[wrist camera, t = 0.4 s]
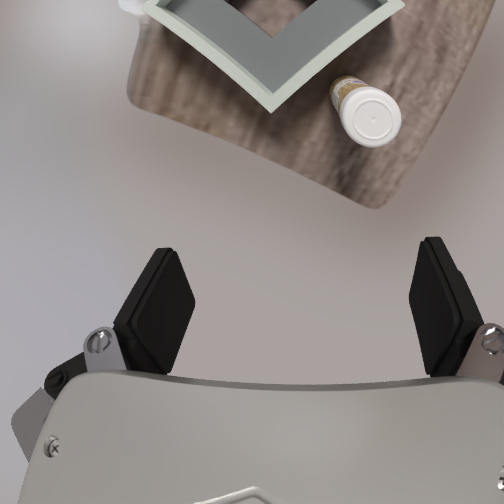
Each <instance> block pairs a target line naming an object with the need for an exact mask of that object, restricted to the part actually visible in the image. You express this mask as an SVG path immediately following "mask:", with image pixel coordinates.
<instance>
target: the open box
mask: <svg viewBox="0 0 504 504" xmlns="http://www.w3.org/2000/svg"><path fill="white" fill-rule="evenodd" d="M229 1H230V0H147V1H146V3H145V4H144V5H143V6H142V8H141V10H142V11H144V12H145V13H147V14H148V15H150V16H151V17H153V18H154V19H156V20H157V21H159V22H160V23H161V24H163V25H164V26H166V27H167V28H169V29H170V30H171V31H173V32H174V33H175V34H177V35H178V36H179V37H181V38H182V39H184V40H185V41H186V42H187V43H189V44H190V45H191V46H193V47H194V48H195V49H197V50H198V51H199V52H200V53H202V54H203V55H204V56H205V57H207V58H208V59H209V60H210V61H212V62H213V63H214V64H215V65H217V66H218V67H219V68H220V69H221V70H223V71H224V72H225V73H226V74H227V75H229V76H230V77H231V78H232V79H233V80H234V81H236V82H237V83H238V84H239V85H240V86H241V87H242V88H244V89H245V90H246V91H247V92H248V93H249V94H250V95H251V96H253V97H254V98H255V99H256V100H257V101H258V102H259V103H260V104H261V105H262V106H264V107H265V108H266V109H267V110H268V111H269V112H270V113H272V112H273V111H274V110H275V109H276V108H278V107H279V106H280V105H281V104H282V103H283V102H284V101H285V100H286V99H288V98H289V97H290V96H291V95H292V94H293V93H294V92H295V91H297V90H298V89H299V88H300V87H301V86H302V85H303V84H305V83H306V82H307V81H308V80H309V79H310V78H311V77H313V76H314V75H315V74H316V73H317V72H319V71H320V70H321V69H322V68H323V67H325V66H326V65H327V64H328V63H329V62H331V61H332V60H333V59H334V58H336V57H337V56H338V55H339V54H340V53H342V52H343V51H344V50H345V49H347V48H348V47H349V46H351V45H352V44H353V43H354V42H356V41H357V40H358V39H360V38H361V37H362V36H364V35H365V34H366V33H367V32H369V31H370V30H372V29H373V28H374V27H376V26H377V25H378V24H380V23H381V22H382V21H384V20H385V19H387V18H388V17H389V16H391V15H392V14H394V13H395V12H396V11H398V10H399V9H401V8H402V7H404V6H405V4H404V3H403V2H402V1H401V0H317V1H316V2H314V3H313V4H312V5H311V6H309V7H308V8H307V9H306V10H304V11H303V12H302V13H301V14H300V15H298V16H297V17H296V18H295V19H294V20H292V21H291V22H290V23H289V24H288V25H287V26H285V27H284V28H283V29H282V30H281V31H280V32H279V33H278V34H276V35H275V36H274V37H273V38H272V37H271V36H270V35H269V34H267V33H266V32H265V31H264V30H263V29H261V28H260V27H259V26H258V25H256V24H255V23H254V22H253V21H251V20H250V19H249V18H248V17H246V16H245V15H244V14H242V13H241V12H240V11H239V10H237V9H236V8H235V7H233V6H232V5H230V4H229V3H228V2H229Z"/></svg>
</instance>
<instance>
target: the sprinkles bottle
mask: <svg viewBox="0 0 504 504" xmlns="http://www.w3.org/2000/svg"><path fill="white" fill-rule="evenodd" d="M329 96H330V100H331V102H332V104H333V105H334V107H335V109H336V110H337V112H338V114H339V116H340V120H341V123H342V125H343V127H344V129H345V131H346V132H347V134H348V135H349V136H350V138H351V139H352V140H354V141H355V142H357V143H358V144H360V145H362V146H366V147H381V146H384V145H386V144H388V143H390V142H391V141H392V140H393V139H394V138H395V137H396V135H397V134H398V132H399V130H400V127H401V113H400V110H399V107H398V105H397V104H396V102H395V101H394V100H393V99H392V98H391V97H390V96H389V95H388V94H386V93H385V92H383V91H381V90H379V89H377V88H374V87H371V86H369V85H368V84H366V83H364V82H363V81H361V80H360V79H358V78H356V77H354V76H350V75H347V76H341V77H339V78H337V79H336V80H335V81H334V82H333V83H332V85H331V86H330V90H329Z"/></svg>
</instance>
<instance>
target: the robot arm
mask: <svg viewBox="0 0 504 504" xmlns="http://www.w3.org/2000/svg"><path fill="white" fill-rule="evenodd" d="M409 303H410V307H411V311H412V315H413V318H414V322H415V326H416V330H417V334H418V338H419V343H420V348H421V352H422V357H423V362H424V367H425V371H426V374H427V375H429V374H430V377H431V378H423V379H414V380H401V381H389V382H375V383H359V384H332V385H284V384H283V385H282V384H257V383H240V382H226V381H213V380H203V379H193V378H185V377H177V376H168V375H167V373H170V372H171V370H172V368H173V365H174V362H175V359H176V356H177V354H178V351H179V348H180V345H181V342H182V340H183V337H184V334H185V332H186V329H187V326H188V324H189V321H190V318H191V316H192V313H193V310H194V308H195V298H194V295H193V293H192V290H191V288H190V285H189V283H188V280H187V278H186V275H185V272H184V270H183V267H182V265H181V262H180V259H179V257H178V254H177V252H176V251H173V249H172V248H158V249H156V251H155V252H154V254H153V255H152V257H151V258H150V260H149V262H148V263H147V265H146V267H145V268H144V270H143V272H142V273H141V275H140V277H139V278H138V280H137V282H136V284H135V285H134V287H133V288H132V290H131V292H130V294H129V295H128V297H127V299H126V300H125V302H124V304H123V306H122V308H121V310H120V311H119V313H118V315H117V316H116V318H115V321H114V322H113V323H114V327H113V328H112V329H111V328H109V327H101V328H98V329H96V330H94V331H93V332H91V333H90V334H89V335H88V337H87V338H86V340H85V342H84V346H83V347H84V352H82V353H80V354H79V355H77V356H75V357H74V358H72V359H70V360H68V361H66V362H65V363H63V364H61V365H59V366H58V367H56V368H54V369H53V370H51V371H50V373H49V374H48V375H47V377H46V379H45V383H44V389H42V388H41V387H40V388H39V390H37V391H36V392H35V393H34V394H33V395H32V396H31V397H30V398H29V399H28V400H27V401H26V402H25V403H24V404H23V405H22V406H21V407H20V408H19V409H17V410H16V412H15V413H14V414H13V417H12V421H11V425H12V429H13V431H14V433H15V436H16V438H17V440H18V442H19V444H20V446H21V448H22V450H23V452H24V454H25V456H26V458H27V460H28V462H29V465H28V468H27V472H26V475H25V478H24V481H23V485H22V489H21V493H20V496H19V500H18V504H504V328H502V327H501V326H499V325H496V324H494V323H487V324H484V322H483V320H482V317H481V314H480V312H479V310H478V307H477V305H476V303H475V300H474V298H473V296H472V294H471V291H470V289H469V287H468V285H467V283H466V281H465V279H464V276H463V274H462V273H461V272H460V271H458V269H457V267H456V265H455V263H454V262H453V259H452V258H451V256H450V254H449V252H448V250H447V248H446V246H445V244H444V243H443V241H442V239H441V238H440V237H426V238H425V240H424V241H421V242H420V246H419V251H418V257H417V261H416V266H415V271H414V276H413V280H412V284H411V288H410V292H409Z"/></svg>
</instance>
